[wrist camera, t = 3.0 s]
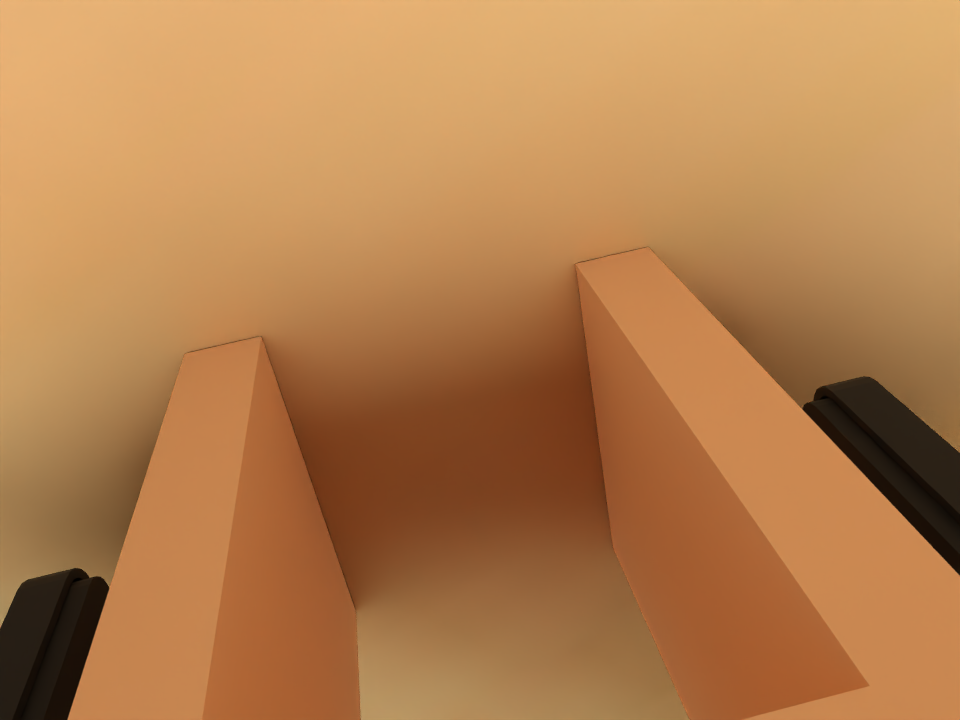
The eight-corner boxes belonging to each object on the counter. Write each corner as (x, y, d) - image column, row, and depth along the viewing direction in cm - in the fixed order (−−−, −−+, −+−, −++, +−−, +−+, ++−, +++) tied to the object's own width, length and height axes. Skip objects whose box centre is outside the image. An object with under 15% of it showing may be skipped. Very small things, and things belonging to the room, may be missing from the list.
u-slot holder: (672, 533, 14) (1134, 1370, 6) (293, 627, 13) (246, 1646, 6) (648, 246, 11) (1379, 1018, 3) (184, 353, 11) (-173, 1474, 3)
